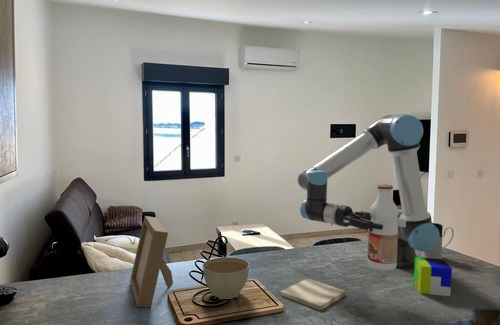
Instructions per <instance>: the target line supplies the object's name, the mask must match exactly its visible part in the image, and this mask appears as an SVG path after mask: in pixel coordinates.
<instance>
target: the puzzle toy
mask: <svg viewBox="0 0 500 325" xmlns="http://www.w3.org/2000/svg"><path fill="white" fill-rule="evenodd" d="M413 268H414V272H413V274H414V275H413V283H414V285H415V288H416V289H417V290H418V292H419V294H423V295H433V296H445V297H451V289H452V273H453V268H452V267H451V266H450V265H449V264H448V262H447V261H446V260H445V259H443V258H442V259H434V258H424V257H420V256H419V257H415V267H413Z"/></svg>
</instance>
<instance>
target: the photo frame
mask: <svg viewBox="0 0 500 325" xmlns="http://www.w3.org/2000/svg"><path fill="white" fill-rule="evenodd" d="M140 231H141V232H140V235H139V239H138V245H137V249H136V253H135V257H134V262H133V266H132V269H131V275H130V277H129V278H130V279H129V283H130V287H131V289H132V294H133V297H134V300H135V304H136V307H137V308H139V307H140V308H152V303H153V300H154V296H155V292H156V287H157V284H158V283H157V282H158V279H159V274H160V272H161V275H162V277H163V280H164V282H165V284H166V287H167V288H170V287H171V285H172V284H173V283H174V280H173V275H172V274H173V273H172V270H171V269H170V268H169V266H168V265H167V263H166V261H165V260H164V259H163V257H164V252H165V248H166V244H167V241H168V240H167V239H168V236H169V235H168V234H169V232H168V230H167V229H166V228H165V227H164V225H163V224H162V223H161V221H160V220H159V219H158V217H154V216H149V215H148V216H147V215H144V219H143V223H142V226H141V230H140Z"/></svg>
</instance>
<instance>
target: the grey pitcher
mask: <svg viewBox="0 0 500 325" xmlns="http://www.w3.org/2000/svg"><path fill="white" fill-rule="evenodd" d="M432 224H433V225H435V226H436V227H437V229H438V231H439V240H438V243H437V244H436V245H435V246H434V247H433V248H432V249H430V250H428V251H422V253H421V258H434V259H443V255H442V252H443V250H444V249H445V248H446V247H447V246H448V245H450V244H451V242H452V241H453V238H454V234H455V233H454V228H452V227H450V226H447V227H446V228H444V227H443V226H444V225H442V224H440V223H436V222H435V223H434V222H432ZM443 228H444V230H443ZM448 229H451V236H450V239H449V241H448V242H447V243H446V244H445V245H444V246H443V237H445V236H446V231H447V230H448Z"/></svg>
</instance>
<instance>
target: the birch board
mask: <svg viewBox="0 0 500 325" xmlns="http://www.w3.org/2000/svg"><path fill="white" fill-rule="evenodd" d="M280 296H281V297H285V298H286V299H289V300H292V301H295V302H297V303H299V304H301V305H305V306H308V307H309V308H313V309H315V310H317V311H320V312H321V311H323V310H324V309H325V308H327V307H328V306H330V305H332V304H334V303H335V302H337V301H338V300H340V299H341V298H343V297H344V296H346V290H344V289H341V288H337V287H334V286H331V285H328V284H325V283H322V282H320V281H317V280H315V279H311V278H304V279H303V280H301V281H300V282H296V283H295V284H293V285H291V286H289V287H286V288H285V289H283V290H281V291H280Z"/></svg>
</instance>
